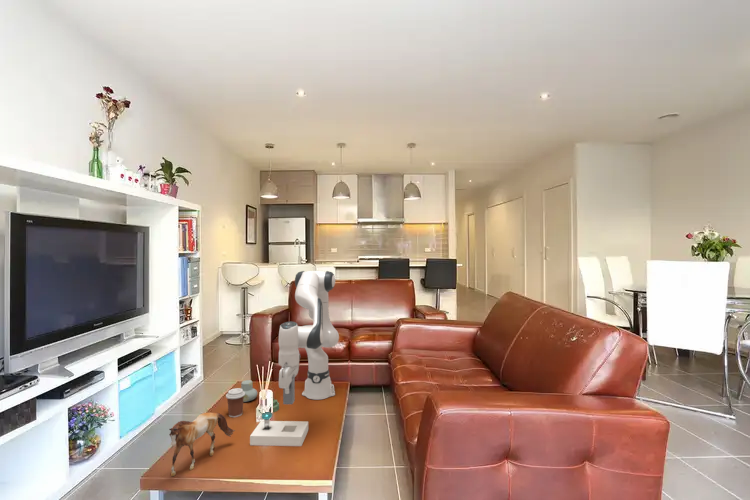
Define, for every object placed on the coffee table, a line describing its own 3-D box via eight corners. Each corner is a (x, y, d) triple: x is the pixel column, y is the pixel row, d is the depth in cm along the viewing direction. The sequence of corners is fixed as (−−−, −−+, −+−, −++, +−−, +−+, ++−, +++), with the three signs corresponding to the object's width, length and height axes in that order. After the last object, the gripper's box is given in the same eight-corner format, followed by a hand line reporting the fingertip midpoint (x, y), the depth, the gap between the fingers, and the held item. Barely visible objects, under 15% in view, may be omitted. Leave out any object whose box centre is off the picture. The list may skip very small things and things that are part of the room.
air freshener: (233, 402, 208) (233, 383, 208) (242, 396, 216) (242, 378, 216) (252, 403, 206) (251, 385, 206) (259, 397, 214) (259, 380, 214)
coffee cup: (236, 419, 187) (236, 395, 187) (221, 416, 190) (221, 392, 190) (249, 412, 196) (248, 388, 195) (234, 409, 199) (234, 386, 199)
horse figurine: (173, 486, 136) (172, 428, 135) (157, 481, 139) (156, 424, 138) (235, 443, 165) (235, 396, 164) (221, 440, 168) (220, 393, 167)
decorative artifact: (279, 412, 195) (278, 404, 205) (279, 398, 195) (278, 391, 205) (258, 415, 193) (259, 406, 202) (258, 401, 193) (259, 393, 202)
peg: (285, 400, 172) (285, 373, 171) (294, 400, 171) (294, 373, 171) (283, 404, 168) (283, 376, 167) (292, 404, 167) (292, 377, 167)
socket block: (261, 429, 177) (261, 420, 177) (308, 430, 176) (308, 421, 176) (250, 445, 163) (250, 435, 163) (301, 446, 162) (301, 436, 162)
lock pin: (263, 426, 172) (263, 412, 172) (273, 426, 172) (273, 412, 172) (260, 431, 168) (260, 416, 168) (270, 431, 168) (270, 416, 168)
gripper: (289, 367, 159) (290, 400, 159) (301, 353, 179) (301, 382, 179) (274, 367, 159) (274, 400, 159) (287, 353, 179) (288, 382, 180)
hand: (289, 390), depth 169 cm, fingers closed on peg, 4 cm apart
